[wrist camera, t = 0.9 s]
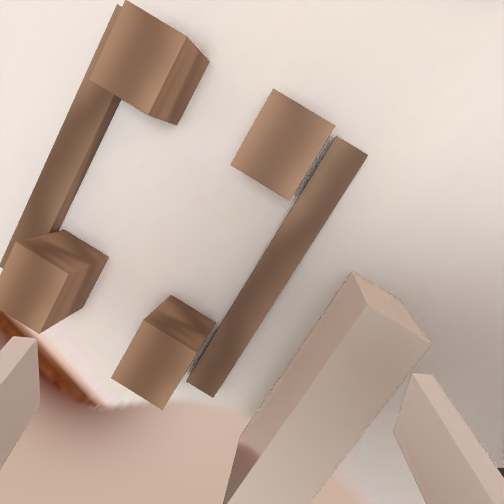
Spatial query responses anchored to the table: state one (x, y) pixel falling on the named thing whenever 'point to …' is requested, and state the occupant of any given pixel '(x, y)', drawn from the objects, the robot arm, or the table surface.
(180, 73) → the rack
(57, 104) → the table surface
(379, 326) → the light grey rectangular block
